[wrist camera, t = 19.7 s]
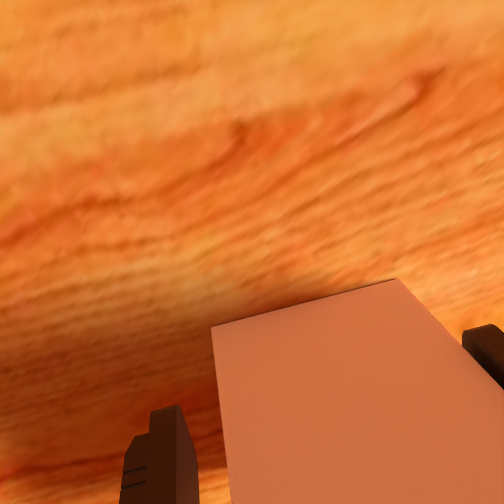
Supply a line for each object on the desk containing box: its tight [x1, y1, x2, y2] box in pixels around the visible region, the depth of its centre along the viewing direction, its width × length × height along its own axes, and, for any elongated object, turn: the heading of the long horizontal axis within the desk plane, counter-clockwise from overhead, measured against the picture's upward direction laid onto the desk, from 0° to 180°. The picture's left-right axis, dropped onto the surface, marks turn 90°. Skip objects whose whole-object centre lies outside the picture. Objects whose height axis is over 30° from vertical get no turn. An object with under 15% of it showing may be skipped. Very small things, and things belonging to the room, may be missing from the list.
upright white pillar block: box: [211, 279, 504, 504], centre depth 13 cm, size 7×7×9 cm
